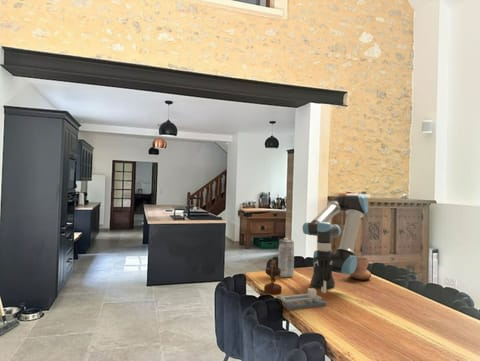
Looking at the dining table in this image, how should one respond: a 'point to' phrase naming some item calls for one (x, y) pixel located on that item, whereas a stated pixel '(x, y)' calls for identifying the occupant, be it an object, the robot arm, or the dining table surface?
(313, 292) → the fader
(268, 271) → the brown rounded tall piece
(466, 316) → the dining table surface
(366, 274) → the ceramic jug
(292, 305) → the console
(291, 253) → the grey canister
